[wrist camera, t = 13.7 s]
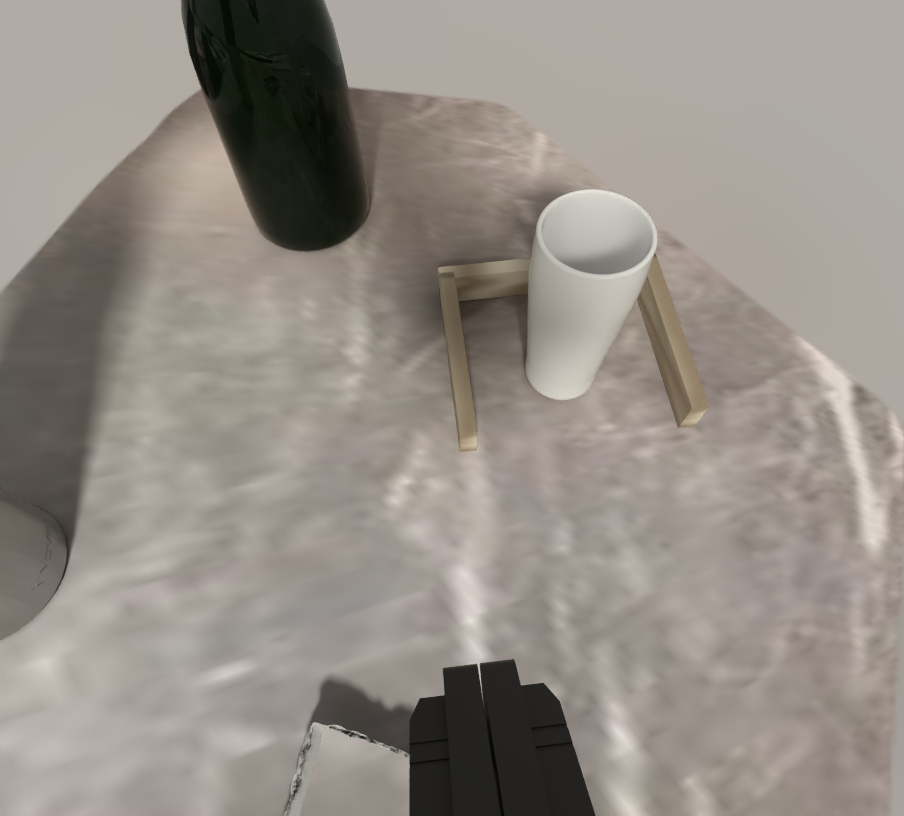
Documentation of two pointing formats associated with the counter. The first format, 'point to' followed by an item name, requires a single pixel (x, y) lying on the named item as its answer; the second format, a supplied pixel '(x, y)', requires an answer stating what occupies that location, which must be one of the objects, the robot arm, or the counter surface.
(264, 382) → the counter surface
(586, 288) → the drinking glass
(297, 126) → the beer bottle
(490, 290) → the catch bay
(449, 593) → the counter surface
